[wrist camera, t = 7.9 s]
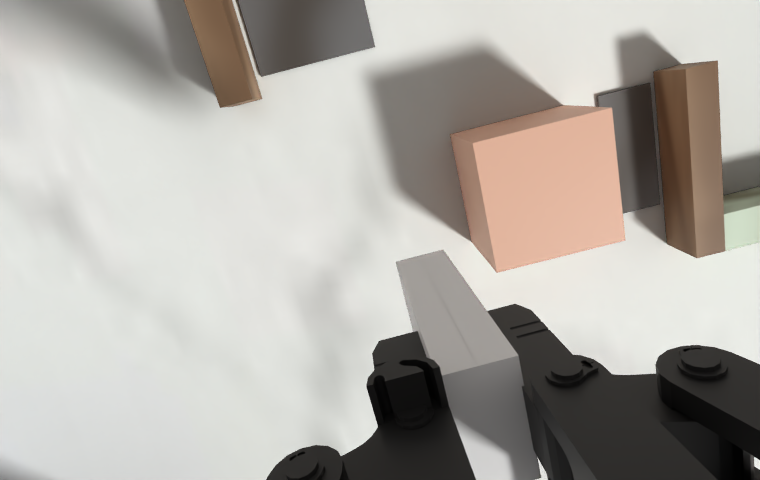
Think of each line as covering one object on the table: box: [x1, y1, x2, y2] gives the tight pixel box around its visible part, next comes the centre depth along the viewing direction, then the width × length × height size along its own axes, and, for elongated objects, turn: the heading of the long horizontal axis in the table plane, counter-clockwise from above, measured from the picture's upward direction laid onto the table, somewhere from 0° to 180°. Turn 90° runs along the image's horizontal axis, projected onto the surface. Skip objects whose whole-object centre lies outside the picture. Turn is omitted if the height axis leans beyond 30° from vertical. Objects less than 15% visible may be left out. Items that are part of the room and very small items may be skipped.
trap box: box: [184, 0, 760, 258], centre depth 22 cm, size 33×23×4 cm
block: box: [450, 105, 625, 273], centre depth 24 cm, size 6×6×5 cm
